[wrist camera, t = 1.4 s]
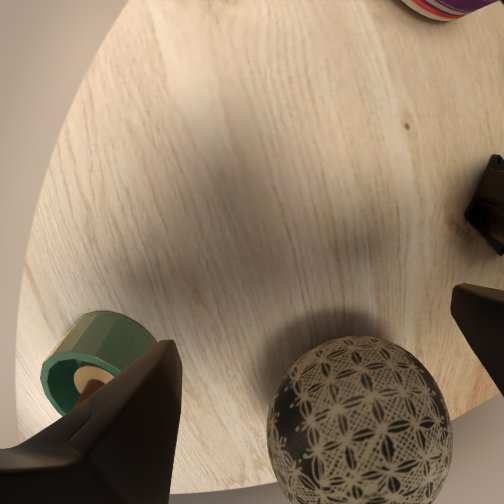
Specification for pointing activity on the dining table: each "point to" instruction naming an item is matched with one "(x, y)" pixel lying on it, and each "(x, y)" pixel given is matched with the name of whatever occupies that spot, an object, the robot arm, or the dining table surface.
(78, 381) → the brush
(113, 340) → the green round pot
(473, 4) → the pill bottle
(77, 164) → the dining table surface
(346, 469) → the decorative egg
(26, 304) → the dining table surface
